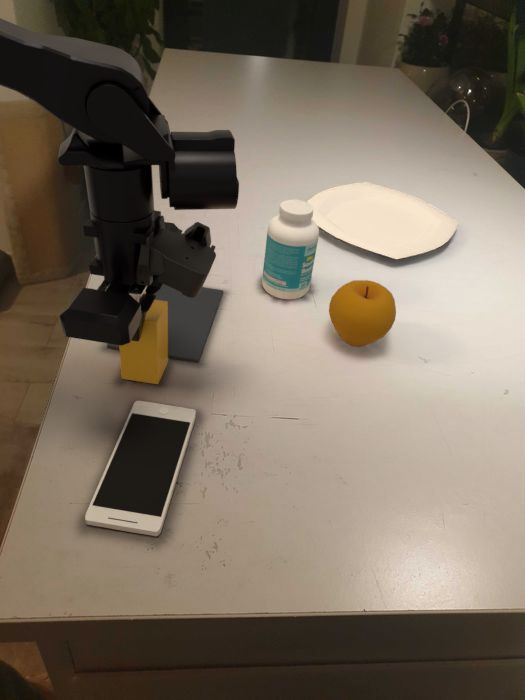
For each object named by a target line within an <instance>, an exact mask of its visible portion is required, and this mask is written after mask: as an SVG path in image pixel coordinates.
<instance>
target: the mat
mask: <svg viewBox="0 0 525 700" xmlns="http://www.w3.org/2000/svg"><path fill="white" fill-rule="evenodd" d="M154 295H156V298H155V300H161V301H167V302H168V359H172V360H178V361H184V362H191V363H197V364H199V363H200V360H201V358H202V355H203V352H204V349H205V346H206V343H207V340H208V338H209V335H210V331H211V329H212V325H213V323H214V320H215V318H216V314H217V311H218V309H219V306H220V304H221V301H222V297H223V296H224V290H223V289H217V288H210V287H204V286H203V287H202V289H201V291H200V293H199V295H198V296H197V297H195V298H190V297H187V296H185V295H183V294H182V293H181V292H180V291H178V290H176V289H173V288H171V287H169V286H167V285H165V284H163V285H162V287H161V289H160V290H159V291H157V292H156V293H155V294H154ZM106 348H107V349H112V350H117V351H120V349H119V345H115V344H108V343H106Z"/></svg>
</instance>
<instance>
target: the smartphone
mask: <svg viewBox="0 0 525 700" xmlns="http://www.w3.org/2000/svg"><path fill="white" fill-rule="evenodd" d="M196 417H197V412H196V409H194V408H188V407H181V406H176V405H171V404H170V405H169V404H163V403H157V402H150V401H145V400H135V401H134V403H133V405H132V407H131V409H130V412H129V414H128V416H127V418H126V420H125V423H124V426H123V427H122V430H121V432H120V434H119V437H118V439H117V441H116V444H115V446H114V449H113V450H112V453H111V455H110V457H109V460H108V461H107V464H106V466H105V469H104V471H103V473H102V476H101V478H100V480H99V482H98V485H97V487H96V489H95V492H94V493H93V496H92V499H91V501H90V503H89V505H88V508H87V510H86V512H85V516H84V519H85V524H86V525H88V526H93V527H99V528H105V529H110V530H117V531H123V532H128V533H135V534H140V535H146V536H152V537H158V536H160V534H161V533H162V530H163V527H164V523H165V520H166V516H167V514H168V510H169V507H170V504H171V501H172V497H173V494H174V491H175V487H176V485H177V481H178V478H179V475H180V471H181V467H182V464H183V462H184V458H185V455H186V451H187V448H188V444H189V442H190V438H191V435H192V431H193V428H194V424H195V422H196Z"/></svg>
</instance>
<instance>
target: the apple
mask: <svg viewBox="0 0 525 700" xmlns="http://www.w3.org/2000/svg"><path fill="white" fill-rule="evenodd" d="M396 308H397V307H396V300H395V298H394V295H393V293H392V292H391V291H390V290H389V289H388V288H387V287H385V286H384V285H382V284H381V283H379V282H375V281H372V280H368V279H367V280H364V279H361V280H351V281H349V282H347V283H344V284H343V285H341V286H340V287H339V288H338V289H337V290H336V291H335V292H334V293H333V295H332V296H331V298H330V302H329V306H328V314H329V319H330V321H331V324H332V327H333V328H334V330H335V332H336V333H337V335H338V336H339V337H340V339H342V340H343V342H344V343H346V344H347V345H349V346H351V347H355V348H362V347H366V346H368V345H371V344H373V343H375V342H377V341H379V340H381V339H383V338H384V337H385V336H386V335H387V334H388V333H389V331H391V329H392V328H393V325H394V324H395V321H396V317H397V309H396Z"/></svg>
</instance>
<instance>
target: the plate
mask: <svg viewBox="0 0 525 700" xmlns="http://www.w3.org/2000/svg"><path fill="white" fill-rule="evenodd" d="M306 202H307V203H309V204H310V205H312V207H313V217H312V220H314V221H315V222H316V224H317V225H318V228H319V229H321V230H322V231H323V232H325V233H327V234H328V235H330V236H332V237H333V238H335V239H337V240H339V241H341V242H344V243H346V244H348V245H350V246H353V247H356V248H359V249H361V250H364V251H366V252H369V253H372V254H376V255H378V256H382V257H385V258H388V259H391V260H394V261H399V260H403V259H407V258H412V257H415V256H420V255H424V254H427V253H429V252H433V251H435V250H437V249H438V248H441V247H442V246H444V245H445V244H446V243H448V242H449V241H450V240H451V238H452V237H453V236H454V233H455V232H456V230H457V228H458V225H459V221H458V220H456V219H455V218H454V217H452V216H450V215H449V214H447V213H445V212H444V211H442V210H441V209H439V208H437V207H435V206H434V205H432V204H430V203H429V202H427V201H425V200H422V199H420V198H418V197H417V196H414V195H411V194H408V193H405V192H403V191H399V190H397V189H393V188H390V187H387V186H383V185H380V184H376V183H372V182H369V181H361V182H354V183H348V184H343V185H338V186H333V187H331V188H327V189H324V190H322V191H320V192H318V193H316V194H315V195H313V196H312V197H310V198H309V199H308V200H307V201H306Z"/></svg>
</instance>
